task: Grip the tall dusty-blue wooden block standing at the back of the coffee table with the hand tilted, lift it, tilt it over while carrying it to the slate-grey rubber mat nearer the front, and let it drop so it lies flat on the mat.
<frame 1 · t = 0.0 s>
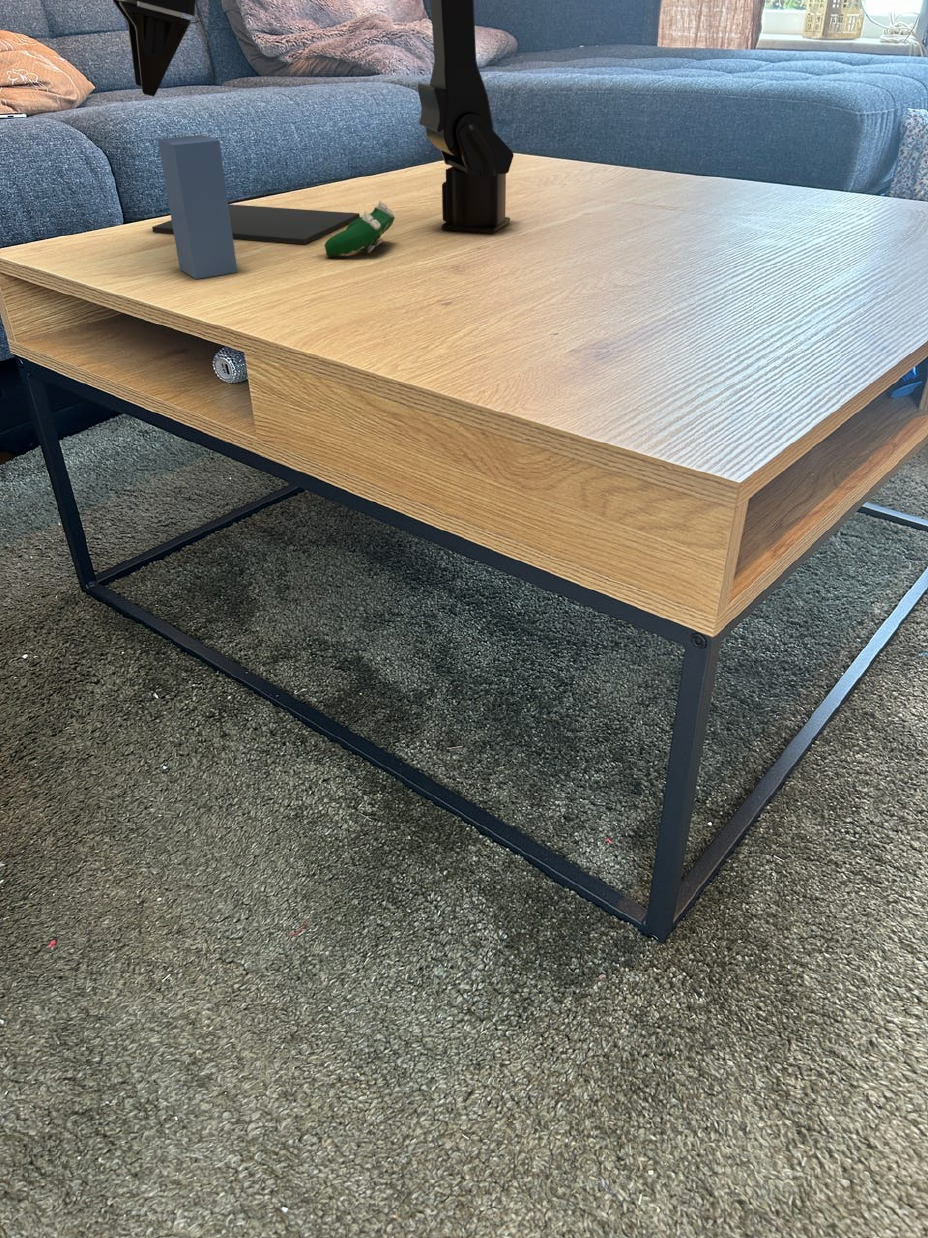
hand: (144, 90, 94), 15 cm above the table, tool pointing down, fingers open, 9 cm apart
green toy shoe: (362, 251, 104), on the table
mat: (258, 225, 114), on the table
blue block: (208, 270, 97), on the table
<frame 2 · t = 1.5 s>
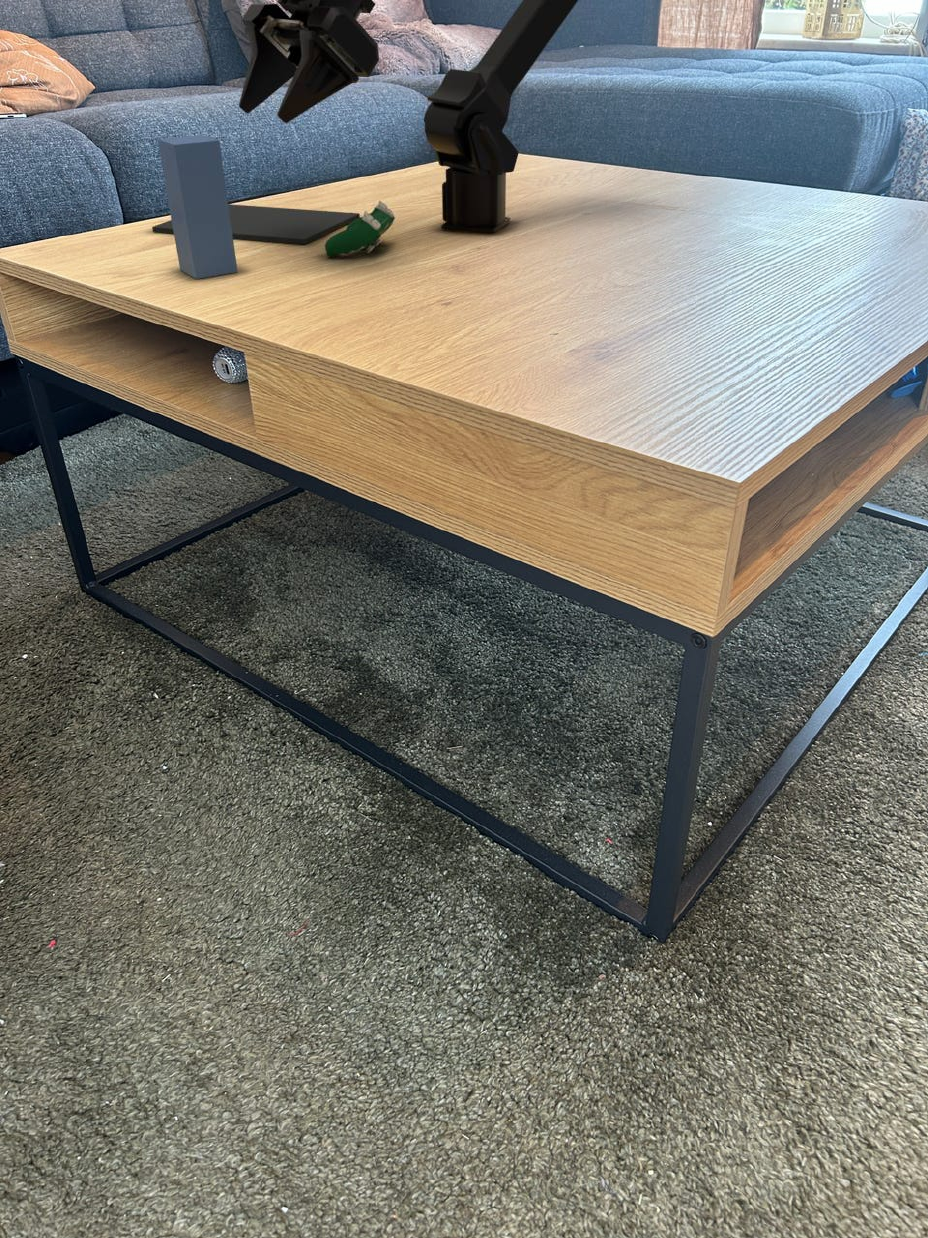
hand: (261, 114, 93), 13 cm above the table, tool tilted 45°, fingers open, 9 cm apart
nothing on the table moved.
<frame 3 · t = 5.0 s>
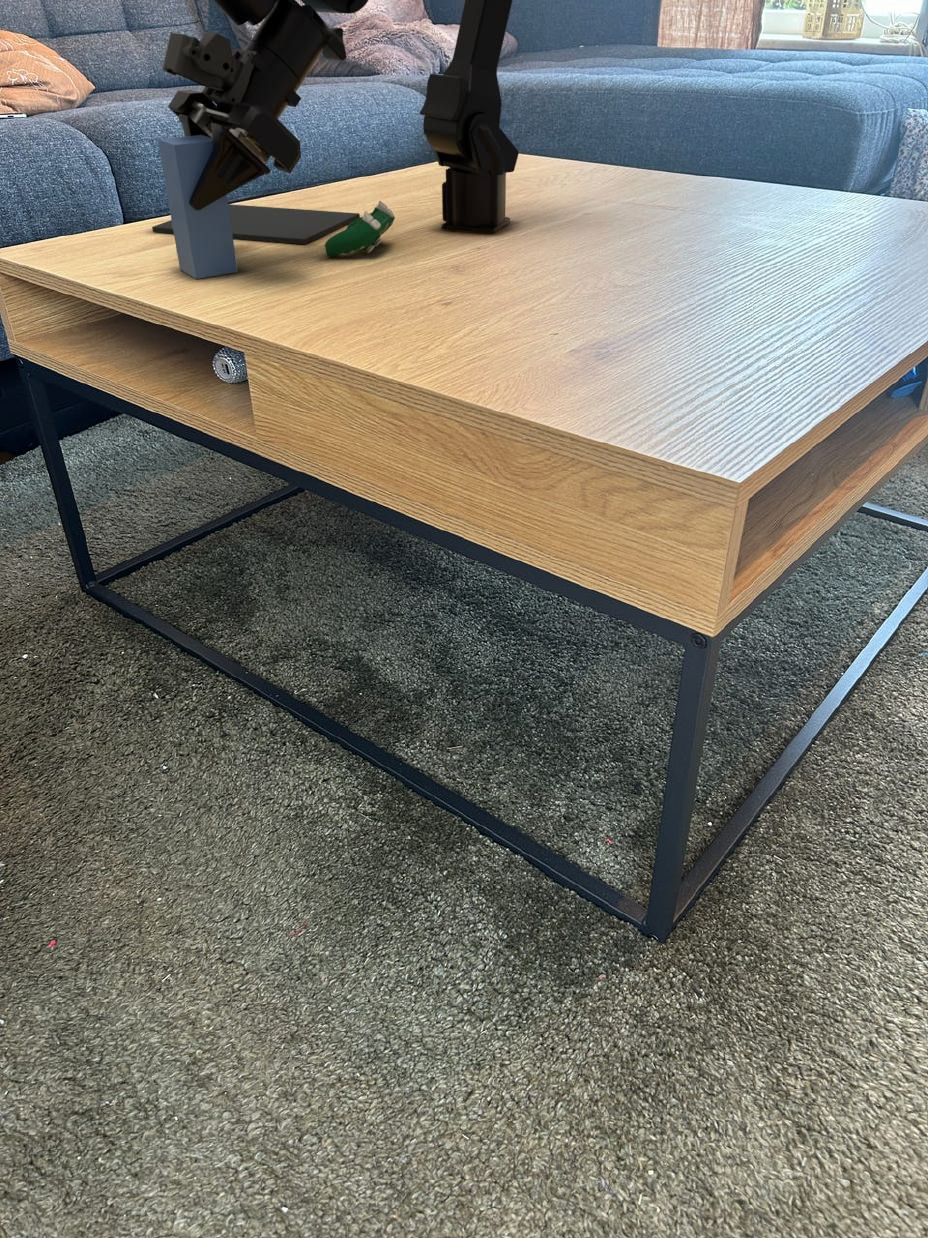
hand: (184, 202, 93), 7 cm above the table, tool tilted 45°, fingers closed on blue block, 4 cm apart
blue block: (208, 270, 97), on the table, touching gripper
everything else where it was.
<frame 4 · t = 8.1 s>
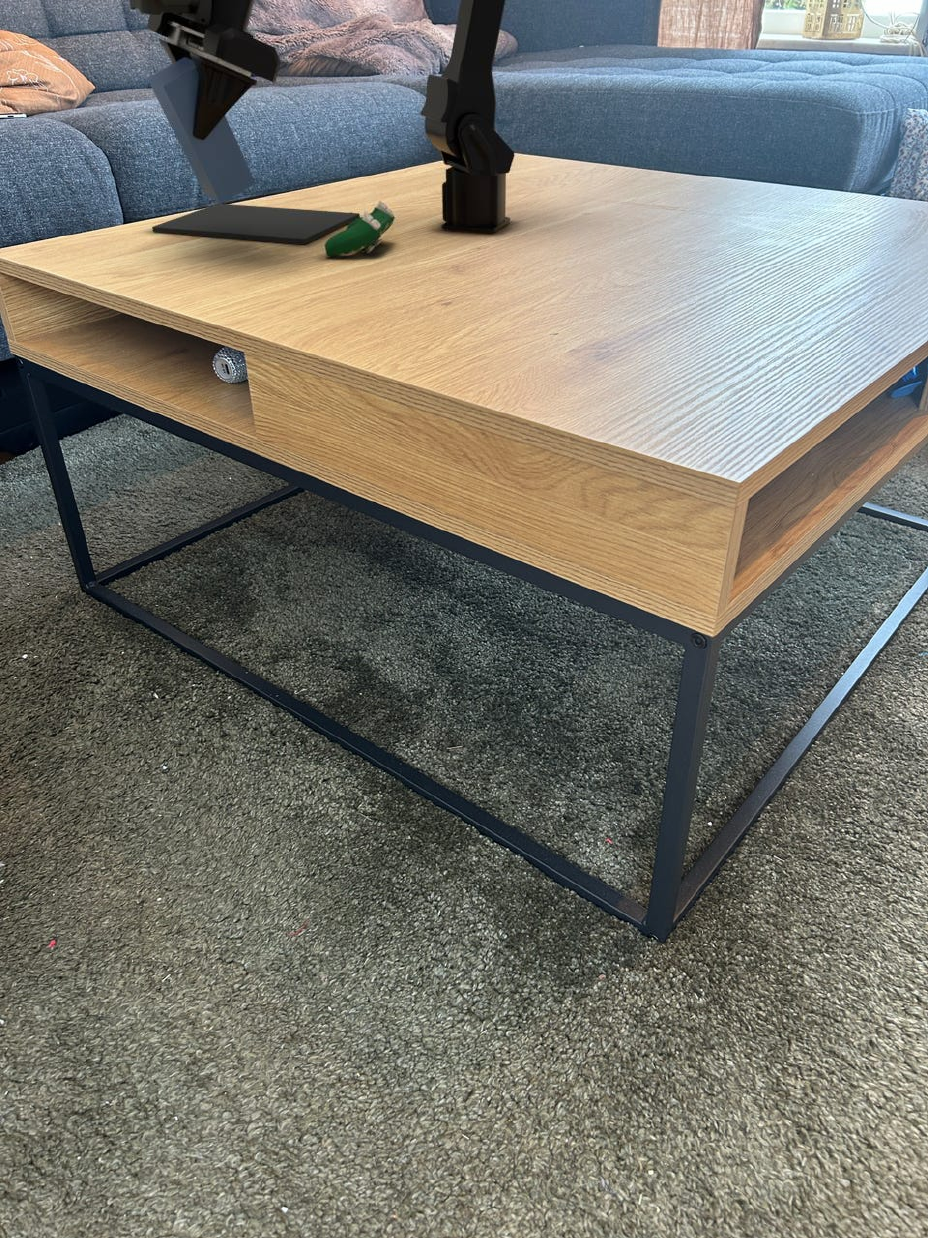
hand: (189, 133, 96), 12 cm above the table, tool tilted 25°, fingers closed on blue block, 4 cm apart
blue block: (230, 188, 101), point 6 cm above the table, tilted 22°, touching gripper
everything else where it was.
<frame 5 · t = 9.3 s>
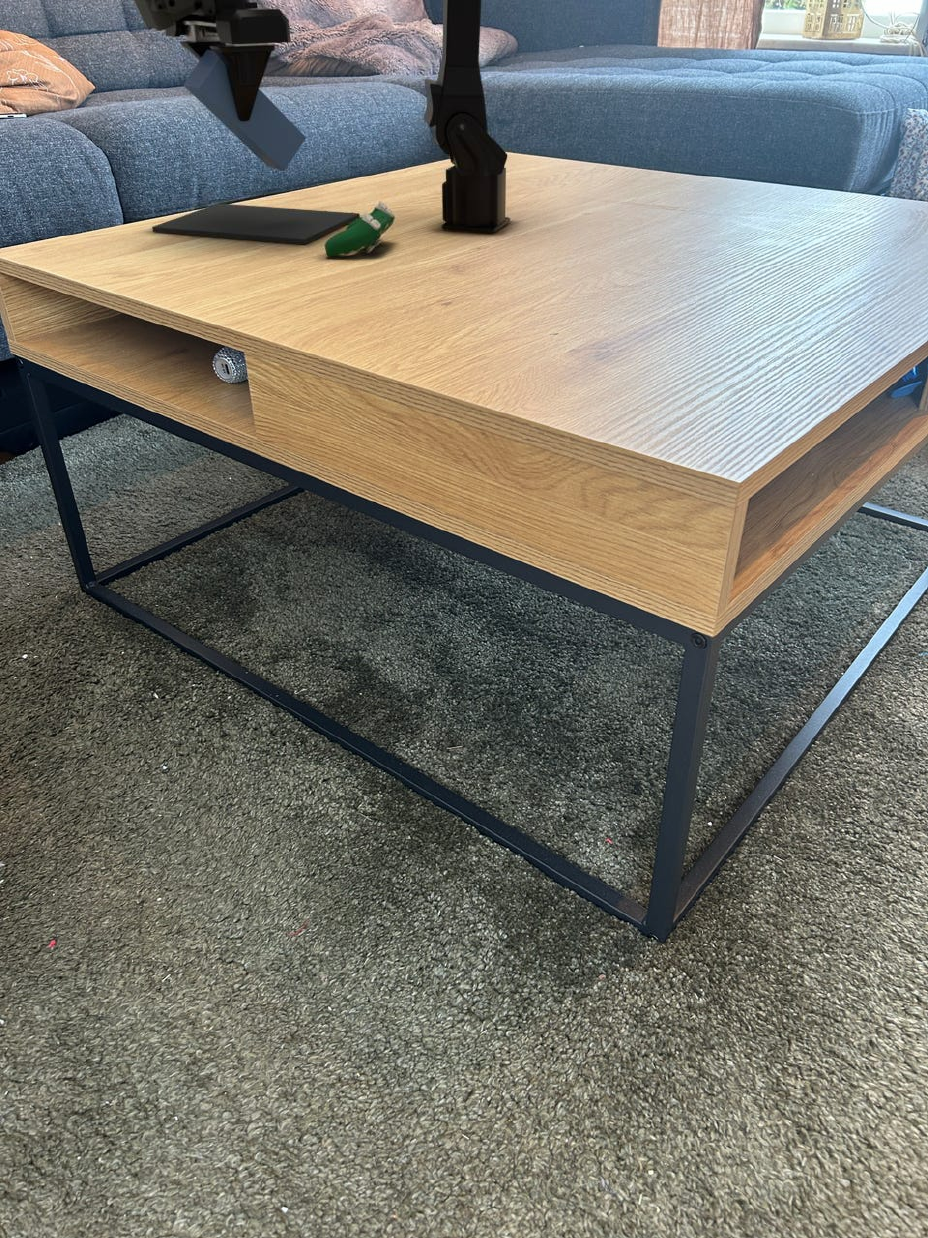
hand: (235, 118, 103), 12 cm above the table, tool pointing down, fingers closed on blue block, 4 cm apart
blue block: (286, 151, 107), point 8 cm above the table, tilted 44°, touching gripper
everything else where it was.
when the fingers open (6 cm above the table, at t = 11.6 s): blue block moves 2 cm and tips over, resting on mat.
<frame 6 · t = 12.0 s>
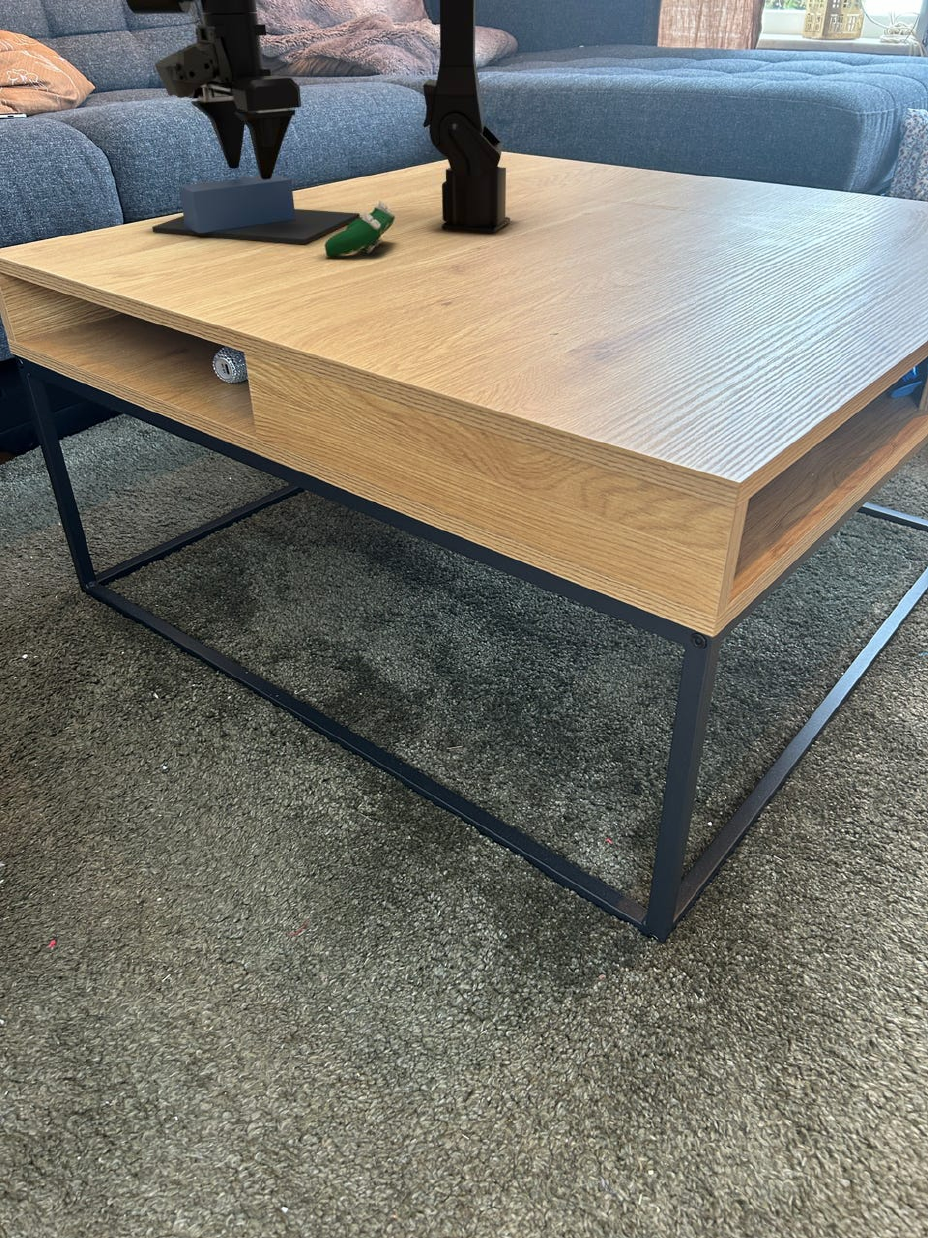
hand: (249, 173, 110), 6 cm above the table, tool pointing down, fingers open, 9 cm apart
blue block: (285, 196, 114), point 3 cm above the table, tilted 90°, touching mat
everything else where it was.
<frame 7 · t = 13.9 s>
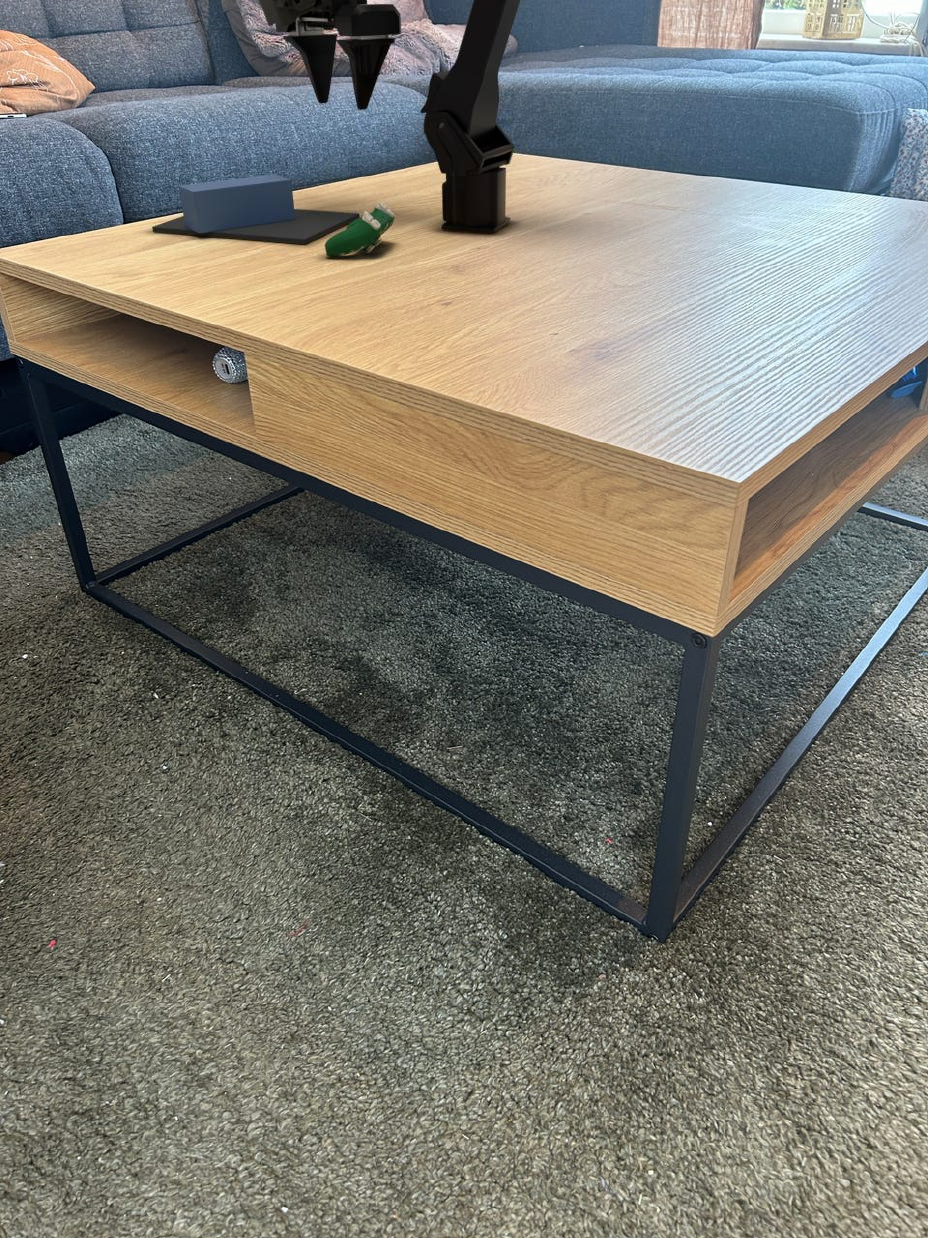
hand: (342, 106, 112), 12 cm above the table, tool pointing down, fingers open, 9 cm apart
nothing on the table moved.
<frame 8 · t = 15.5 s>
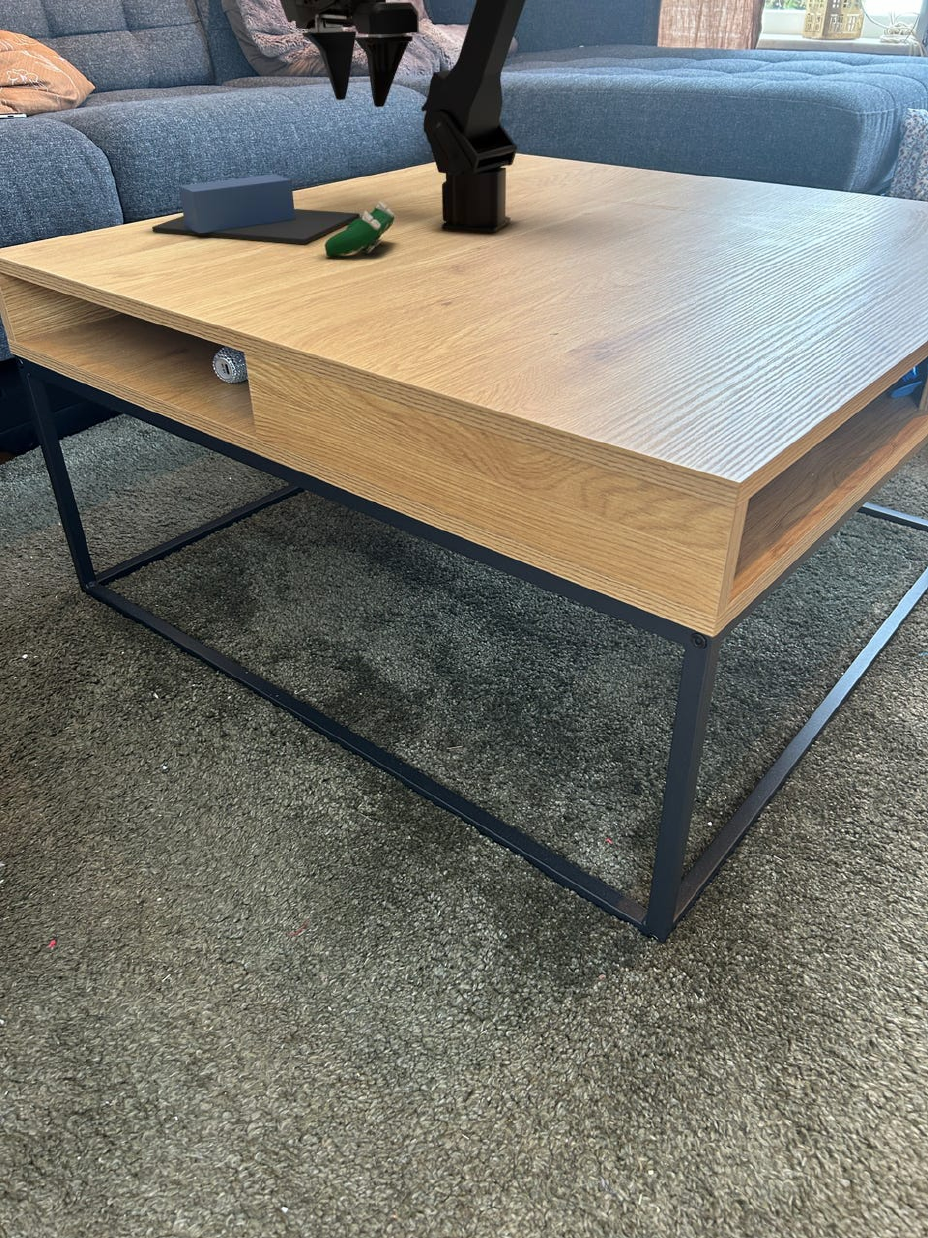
hand: (359, 102, 113), 12 cm above the table, tool pointing down, fingers open, 9 cm apart
nothing on the table moved.
at the end: blue block tilted 90°; blue block inside the target area on the mat (3.7 cm from its centre), point 2.8 cm above the mat's base; the gripper is holding nothing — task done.
